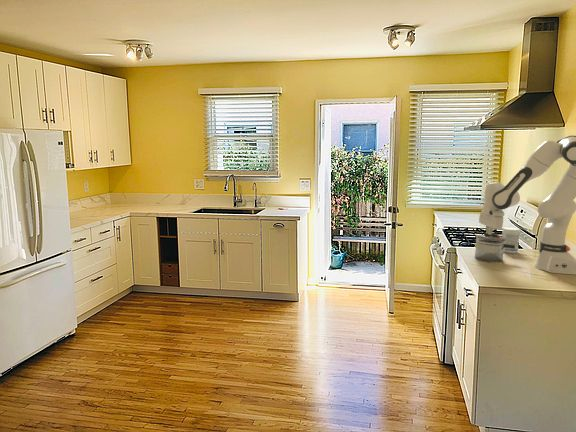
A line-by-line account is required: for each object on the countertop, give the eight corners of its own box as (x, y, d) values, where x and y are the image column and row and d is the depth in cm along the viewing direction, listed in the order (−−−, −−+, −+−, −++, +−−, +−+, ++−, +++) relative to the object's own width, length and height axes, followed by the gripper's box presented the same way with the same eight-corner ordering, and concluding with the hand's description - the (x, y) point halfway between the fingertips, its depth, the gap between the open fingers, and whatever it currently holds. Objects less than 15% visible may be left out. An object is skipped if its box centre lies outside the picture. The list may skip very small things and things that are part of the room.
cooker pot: (512, 258, 273) (514, 240, 271) (513, 265, 259) (515, 246, 257) (475, 253, 282) (476, 236, 280) (473, 260, 268) (475, 241, 266)
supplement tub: (520, 252, 287) (523, 229, 284) (510, 254, 283) (512, 230, 280) (507, 249, 296) (509, 226, 293) (497, 250, 291) (499, 227, 289)
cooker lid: (505, 238, 274) (506, 233, 273) (505, 241, 259) (506, 236, 258) (476, 235, 280) (476, 230, 280) (475, 238, 265) (475, 233, 265)
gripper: (477, 207, 274) (475, 230, 277) (495, 213, 254) (492, 238, 257) (487, 207, 275) (485, 230, 277) (506, 213, 255) (503, 238, 257)
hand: (488, 234), depth 267 cm, fingers closed
